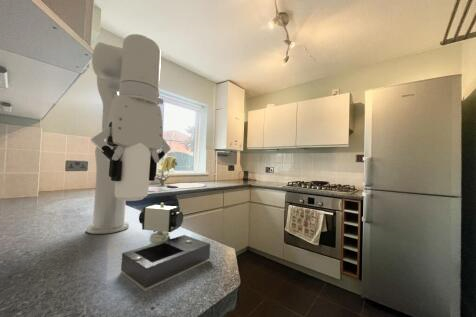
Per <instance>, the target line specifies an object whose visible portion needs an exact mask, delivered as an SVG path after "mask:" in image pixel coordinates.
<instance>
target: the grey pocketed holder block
mask: <svg viewBox="0 0 476 317" xmlns="http://www.w3.org/2000/svg"><path fill="white" fill-rule="evenodd" d="M210 257H211V243H208V242H206V241H203V240H201V239H197V238H193V237H192V236H188V235H185V234H183V235H180V236H177V237H172V238H170V239H169V240H165V241H162V242H159V243H155V244H152V245H151V244H148V245H145V246H142V247H138V248H135V249H131V250H127V251H124V252H122V253H121V268H120V273H121V274H122V275H123V276H124V277H126V278H127V279H128V280H130V281H131V282H132V283H134V284H135V285H136V286H138V287H139V288H140V289H141V290H142V291H144V292H147V291H149V290H151V289H153V288H156V287H158V286H159V285H161V284H164V283H165V282H169V281H171V280H172V279H175V278H176V277H179V276H180V275H182V274H185V273H187V272H189V271H192V270H193V269H195V268H197V267H199V266H202V265H204V264H206V263H208V262H209V261H210V260H211V259H210Z"/></svg>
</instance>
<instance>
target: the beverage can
mask: <svg viewBox="0 0 476 317" xmlns="http://www.w3.org/2000/svg"><path fill="white" fill-rule="evenodd" d="M150 158H151V151H150V149H148V148H147V147H146V146H145V145H143V144H142V143H139V144H136V145H134V146H130V147H125V149H124V151H123V152H122V154H121V156H120V161H122V171H121V180H120V181H115V197H117V198H118V199H119V200H122V201H126V202H130V201H131V202H134V201H135V202H136V201H141V200H144V199H145V198H146V197H147V196H148V195H149V183H150V181H149V173H150Z"/></svg>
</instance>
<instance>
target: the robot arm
mask: <svg viewBox="0 0 476 317" xmlns="http://www.w3.org/2000/svg"><path fill="white" fill-rule="evenodd" d="M161 53H162V51H161V48H160V46H159V45H158V44H157V42H155V40H153V39H151V38H150V37H148V36H146V35H142V34H137V33H136V34H135V33H133V34H129V35H127V36H126V37H125V38H124V39H123V42H122V47H120V46H115V45H111V44H108V43H105V42H97V43H96V44H95V46H94V49H93V51H92V56H91V66H92V69H93V72H94V74H95V76H96V86H97V90H98V94H99V96H100V99H101V102H102V116H101V117H102V118H101V132H99V133H98V134H96V135H95V136H93V137H92V138H91V139H90V140H91V143H93V144H94V145H95V152H94V154H95V163H96V164H95V165H96V166H95V167H96V173H95V174H96V175H95V191H94V201H93V203H94V204H93V215H92V216H93V217H92V224H91V225H89V226H87V227H86V232H87V233H88V234H92V235H103V234H106V235H107V234H112V233H118V232H121V231H125V230H126V229H128V228H129V227H130V226H129V225H130V224H129V222H126V221H125V216H126V204H127V203H126V202H127V201H122V200H119V199H118V198H117V197H115V181H120V180H121V171H122V161H120V156H121V154H122V152H123V151H124V149H125V147H130V146H134V145H136V144H139V143H142V144H143V145H145V146H146V147H147V148H148V149H150V151H151V158H150V173H149V182H154V181H155V180H156V179H155V177H156V176H157V167H158V164H157V163H159V162H160V160H161V159H163V158H164V157H165V155H166V154H167V153H168V152H170V151H171V147H170V145H169V144H168V143H167V141H166V140H165V139H164V137H163V135H164V134H163V133H164V132H163V130H164V129H163V116H162V110H161V105H163V104H164V99H163V98H161V97H160V92H159V91H160V78H161V77H160V76H161V75H160V74H161V61H162V60H161V57H162V54H161ZM159 105H160V106H159ZM158 150H159V151H158Z"/></svg>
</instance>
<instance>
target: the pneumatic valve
mask: <svg viewBox="0 0 476 317" xmlns="http://www.w3.org/2000/svg"><path fill="white" fill-rule="evenodd" d="M180 209H181V207H180V206H171V205H165V203H164V202H160V205H159V204H152V205H148V206H144V207H143V209H142V210H141V211H140V213H139V216H138V222H139V223H140V224H141V229H142V230H143V231H153V233H152V234H150V237H149V242H150V245H152V244H155V243H159V242H162V241H165V240H169V239H171V236H170V233H172V232H174V231H175V230H177V229H179V228H180V227H181V226H182V224H183V222H184V213H183V212H182V211H181V210H180Z"/></svg>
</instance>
